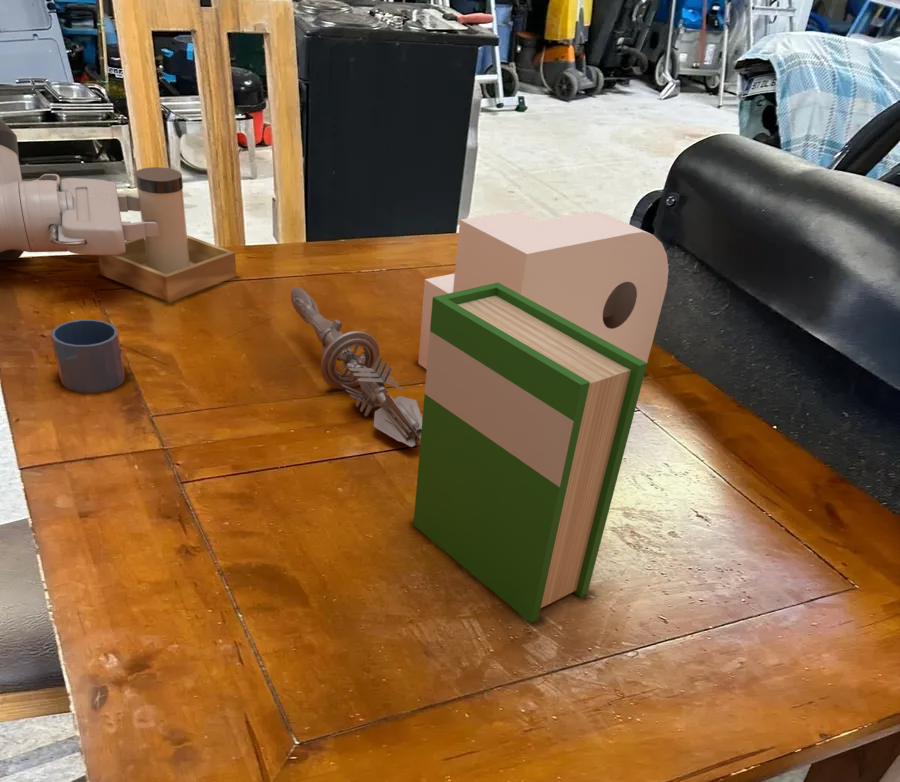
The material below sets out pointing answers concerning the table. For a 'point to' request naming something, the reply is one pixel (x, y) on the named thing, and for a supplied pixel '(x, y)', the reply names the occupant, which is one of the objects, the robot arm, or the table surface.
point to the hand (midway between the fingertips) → (155, 216)
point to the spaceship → (361, 373)
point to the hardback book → (521, 443)
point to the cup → (88, 355)
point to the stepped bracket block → (564, 272)
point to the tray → (203, 272)
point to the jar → (163, 218)
